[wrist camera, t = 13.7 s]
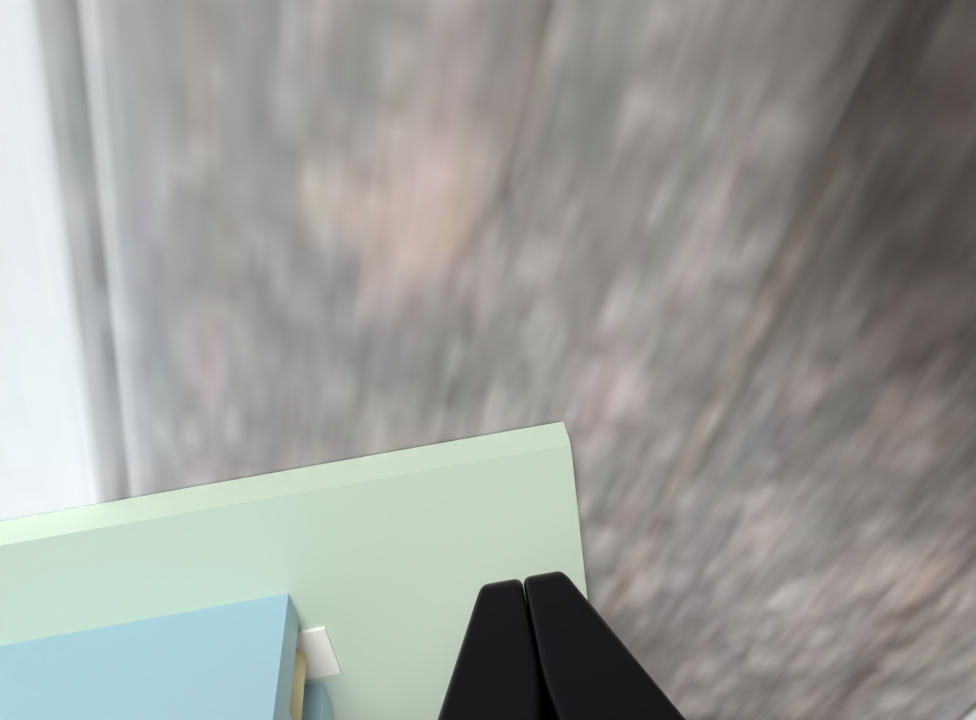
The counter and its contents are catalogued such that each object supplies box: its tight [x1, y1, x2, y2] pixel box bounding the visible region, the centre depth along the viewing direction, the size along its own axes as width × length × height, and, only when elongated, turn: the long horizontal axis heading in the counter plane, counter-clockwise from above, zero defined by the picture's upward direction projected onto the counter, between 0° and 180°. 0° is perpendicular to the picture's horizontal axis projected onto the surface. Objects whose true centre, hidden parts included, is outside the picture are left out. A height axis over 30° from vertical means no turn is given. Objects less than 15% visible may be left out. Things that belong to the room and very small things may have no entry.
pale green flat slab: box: [0, 421, 587, 720], centre depth 24 cm, size 20×12×4 cm, turn 98°
